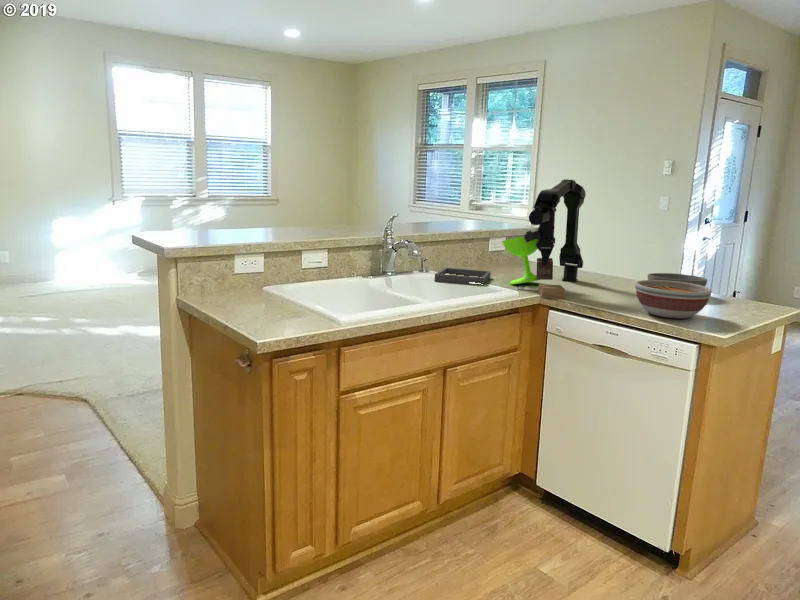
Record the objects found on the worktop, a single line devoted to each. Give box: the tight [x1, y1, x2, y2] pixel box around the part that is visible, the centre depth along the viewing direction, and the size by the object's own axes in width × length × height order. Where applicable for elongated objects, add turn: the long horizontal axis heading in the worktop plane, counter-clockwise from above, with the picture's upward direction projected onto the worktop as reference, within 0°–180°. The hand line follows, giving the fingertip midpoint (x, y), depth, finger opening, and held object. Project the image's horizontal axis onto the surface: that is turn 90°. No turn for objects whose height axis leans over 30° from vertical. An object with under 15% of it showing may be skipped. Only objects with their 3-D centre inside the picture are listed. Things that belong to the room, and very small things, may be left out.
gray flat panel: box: [517, 284, 539, 293], centre depth 239 cm, size 10×14×1 cm
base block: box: [537, 283, 566, 300], centre depth 226 cm, size 8×8×4 cm
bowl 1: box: [647, 272, 708, 287], centre depth 236 cm, size 21×21×8 cm
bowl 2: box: [635, 279, 712, 319], centre depth 200 cm, size 23×23×10 cm
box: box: [536, 257, 554, 281], centre depth 238 cm, size 6×6×7 cm
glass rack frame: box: [434, 267, 492, 285], centre depth 255 cm, size 20×20×3 cm
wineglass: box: [501, 236, 538, 285], centre depth 247 cm, size 16×16×18 cm
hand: (545, 263), depth 237 cm, fingers open, 8 cm apart
